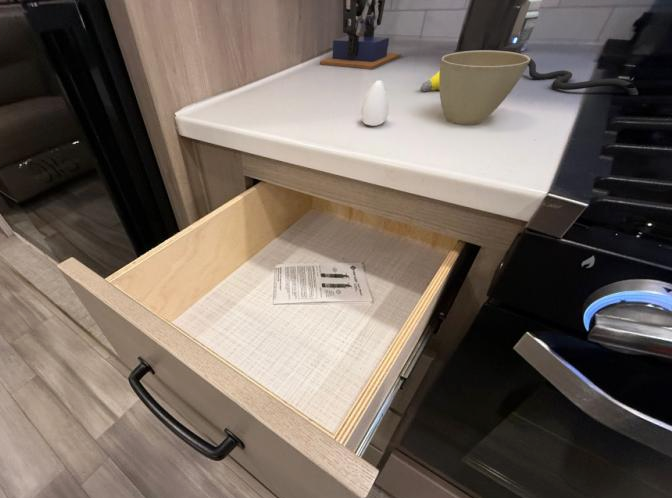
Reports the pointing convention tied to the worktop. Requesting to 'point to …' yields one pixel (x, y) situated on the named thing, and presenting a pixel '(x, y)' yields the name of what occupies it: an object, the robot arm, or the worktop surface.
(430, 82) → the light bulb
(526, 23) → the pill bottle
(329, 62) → the mat
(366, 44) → the navy rectangular block
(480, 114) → the flower pot
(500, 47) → the robot arm
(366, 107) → the egg
